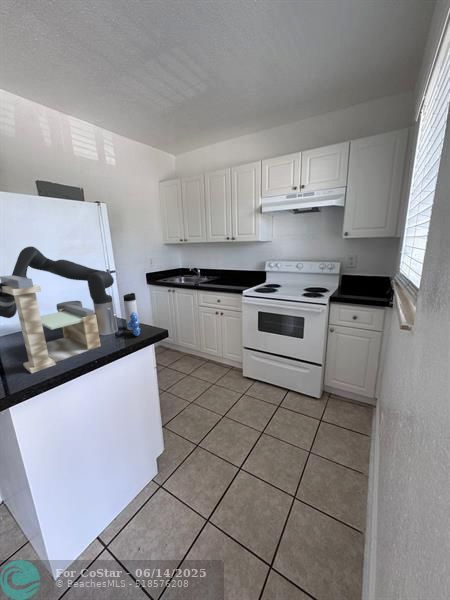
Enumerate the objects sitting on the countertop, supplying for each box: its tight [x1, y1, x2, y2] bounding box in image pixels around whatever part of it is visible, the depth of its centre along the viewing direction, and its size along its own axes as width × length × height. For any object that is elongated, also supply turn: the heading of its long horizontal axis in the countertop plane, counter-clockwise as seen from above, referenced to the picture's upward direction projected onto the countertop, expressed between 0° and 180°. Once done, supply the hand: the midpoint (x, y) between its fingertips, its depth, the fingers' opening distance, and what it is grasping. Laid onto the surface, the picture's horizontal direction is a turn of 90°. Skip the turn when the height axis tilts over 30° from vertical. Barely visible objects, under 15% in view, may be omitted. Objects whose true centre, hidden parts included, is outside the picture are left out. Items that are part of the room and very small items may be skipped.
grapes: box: [126, 312, 141, 337], centre depth 125 cm, size 12×7×12 cm, turn 30°
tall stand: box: [2, 284, 57, 374], centre depth 94 cm, size 8×14×32 cm, turn 54°
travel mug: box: [122, 292, 140, 331], centre depth 135 cm, size 6×7×20 cm
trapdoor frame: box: [46, 308, 102, 363], centre depth 112 cm, size 18×27×16 cm
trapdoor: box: [40, 304, 95, 331], centre depth 111 cm, size 17×24×4 cm
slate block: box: [0, 274, 34, 289], centre depth 93 cm, size 4×24×3 cm, turn 54°
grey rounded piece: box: [56, 300, 83, 312], centre depth 138 cm, size 13×13×15 cm
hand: (11, 278), depth 95 cm, fingers open, 8 cm apart
